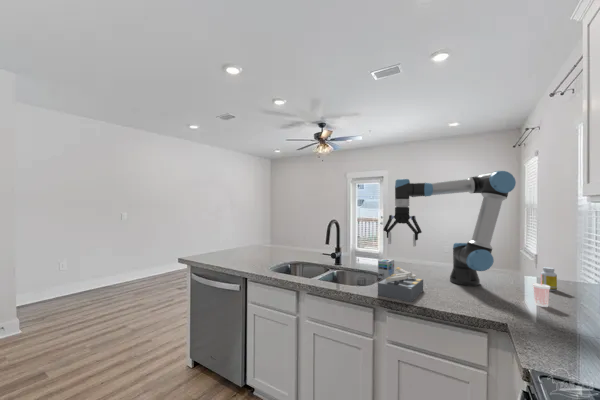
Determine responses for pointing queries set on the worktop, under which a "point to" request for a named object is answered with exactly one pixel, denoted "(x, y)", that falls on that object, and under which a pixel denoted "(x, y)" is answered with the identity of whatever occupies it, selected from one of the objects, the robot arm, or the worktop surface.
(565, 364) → the worktop surface
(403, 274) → the rocker
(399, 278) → the rocker
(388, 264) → the light bulb box
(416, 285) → the box
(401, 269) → the rocker
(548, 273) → the pill bottle
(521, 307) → the worktop surface
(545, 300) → the beverage cup
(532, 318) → the worktop surface
